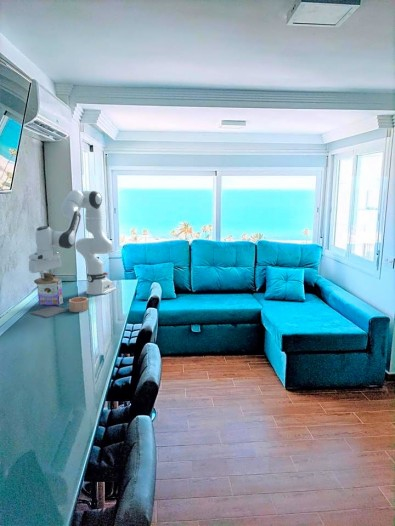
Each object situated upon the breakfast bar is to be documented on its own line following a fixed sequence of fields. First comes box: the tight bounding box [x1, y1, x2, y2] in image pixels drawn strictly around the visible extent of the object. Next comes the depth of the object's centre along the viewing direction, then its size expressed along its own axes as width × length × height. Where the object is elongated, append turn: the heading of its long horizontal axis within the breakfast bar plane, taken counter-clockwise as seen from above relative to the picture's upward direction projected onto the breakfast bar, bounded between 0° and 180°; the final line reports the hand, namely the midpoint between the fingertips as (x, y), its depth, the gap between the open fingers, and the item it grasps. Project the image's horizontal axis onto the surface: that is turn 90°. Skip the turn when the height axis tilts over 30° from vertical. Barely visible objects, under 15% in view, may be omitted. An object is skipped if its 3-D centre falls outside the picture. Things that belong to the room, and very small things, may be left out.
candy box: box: [36, 278, 64, 307], centre depth 234 cm, size 14×6×16 cm, turn 84°
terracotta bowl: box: [68, 296, 89, 313], centre depth 226 cm, size 11×11×6 cm
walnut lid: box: [33, 272, 61, 285], centre depth 216 cm, size 14×14×5 cm
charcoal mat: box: [30, 305, 69, 319], centre depth 221 cm, size 15×15×1 cm
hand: (46, 277), depth 216 cm, fingers closed on walnut lid, 3 cm apart
